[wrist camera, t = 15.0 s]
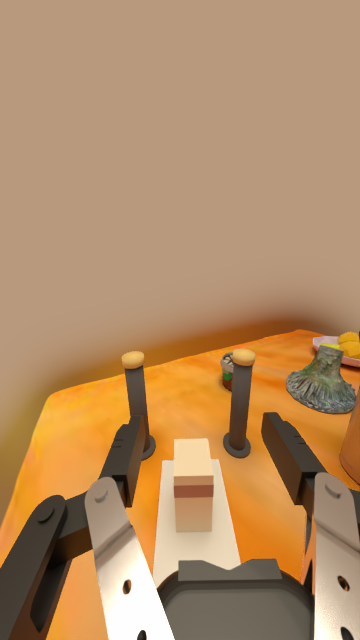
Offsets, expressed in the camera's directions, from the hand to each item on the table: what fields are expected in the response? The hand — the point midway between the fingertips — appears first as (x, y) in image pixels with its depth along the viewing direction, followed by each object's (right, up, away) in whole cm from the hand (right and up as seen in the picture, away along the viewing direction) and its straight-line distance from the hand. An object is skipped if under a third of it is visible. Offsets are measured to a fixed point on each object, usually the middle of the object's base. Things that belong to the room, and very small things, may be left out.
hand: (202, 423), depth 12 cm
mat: (+1, -26, +18) cm, 32 cm away
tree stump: (+44, -17, +47) cm, 66 cm away
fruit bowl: (+73, -11, +66) cm, 99 cm away
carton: (+1, -25, +18) cm, 31 cm away
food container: (+16, -16, +52) cm, 57 cm away
